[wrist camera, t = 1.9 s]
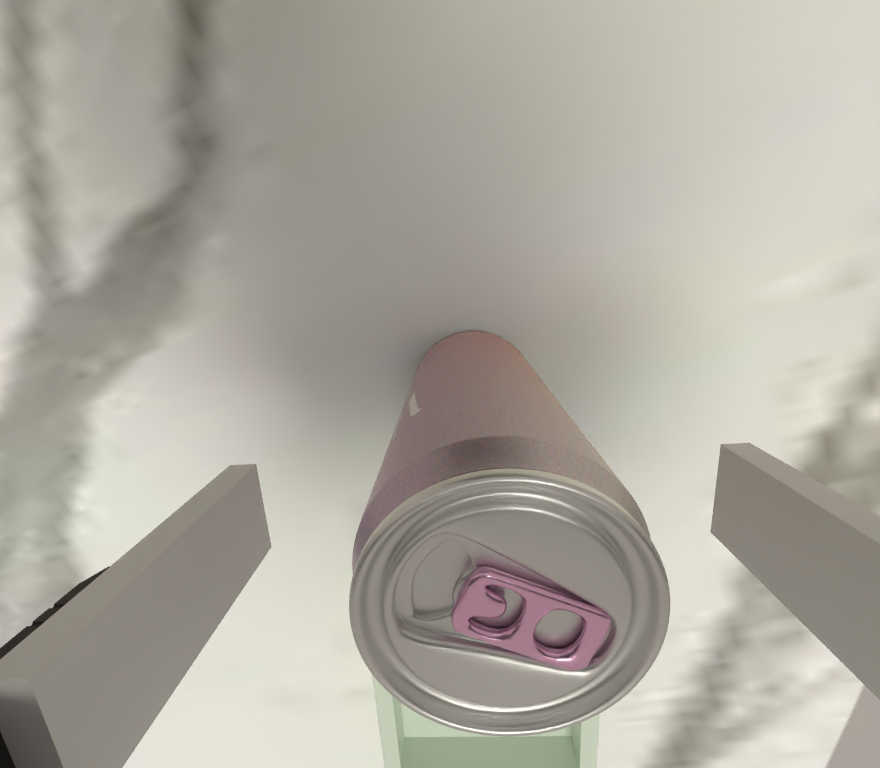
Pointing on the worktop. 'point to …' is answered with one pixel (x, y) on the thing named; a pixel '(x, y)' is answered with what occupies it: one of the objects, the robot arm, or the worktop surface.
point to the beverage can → (501, 555)
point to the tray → (476, 743)
